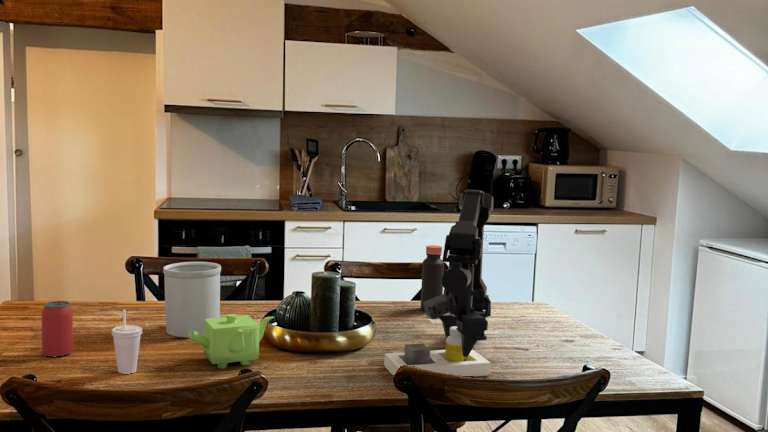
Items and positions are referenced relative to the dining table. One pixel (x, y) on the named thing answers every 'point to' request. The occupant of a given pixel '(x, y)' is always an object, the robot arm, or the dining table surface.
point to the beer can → (57, 328)
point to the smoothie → (126, 346)
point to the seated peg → (416, 354)
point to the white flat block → (443, 364)
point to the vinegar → (432, 274)
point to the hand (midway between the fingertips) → (457, 350)
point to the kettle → (231, 339)
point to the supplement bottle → (454, 347)
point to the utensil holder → (191, 296)
